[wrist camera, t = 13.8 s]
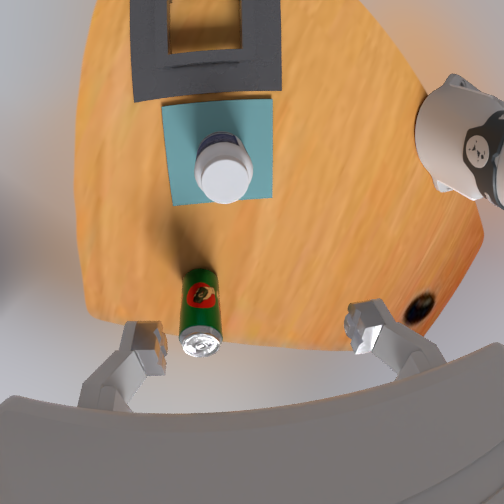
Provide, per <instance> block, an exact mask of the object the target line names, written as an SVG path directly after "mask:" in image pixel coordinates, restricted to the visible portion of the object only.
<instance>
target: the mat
mask: <svg viewBox="0 0 504 504" xmlns="http://www.w3.org/2000/svg"><path fill="white" fill-rule="evenodd" d="M162 116H163V127H164V137H165V147H166V155H167V164H168V172H169V180H170V187H171V194H172V201H173V206H178V205H188V204H198V203H209V202H214V201H212V200H211V199H209V198H208V197H207V196H206V195H205V193H204V192H203V191H202V190H201V189H200V187H199V186H198V184H197V182H196V179H195V175H194V168H195V162H196V156H197V150H198V147H199V145H200V143H201V141H202V140H203V139H204V138H205V137H206V136H208V135H209V134H211V133H214V132H218V131H225V132H229V133H232V134H234V135H235V136H237V137H238V138H239V139H240V140H241V142H242V143H243V145H244V147H245V149H246V151H247V153H248V155H249V156H250V158H251V161H252V165H253V176H252V179H251V182H250V184H249V186H248V189H247V191H246V193H245V194H244V195H243V196H242V197H241V198H240V199H239V200H247V199H261V198H272V162H273V101H272V99H243V100H223V101H209V102H197V103H187V104H178V105H170V106H163V107H162Z"/></svg>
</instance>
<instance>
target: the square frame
mask: <svg viewBox="0 0 504 504" xmlns="http://www.w3.org/2000/svg"><path fill="white" fill-rule="evenodd" d="M170 3H172V0H130V41H131V65H132V81H133V94H134V103H135V102H141V101H147V100H153V99H160V98H167V97H174V96H183V95H192V94H203V93H216V92H233V91H282V66H281V11H280V0H239V6H240V49H225V50H208V51H196V52H186V53H178V54H171V51H170Z"/></svg>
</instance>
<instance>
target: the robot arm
mask: <svg viewBox="0 0 504 504" xmlns="http://www.w3.org/2000/svg"><path fill="white" fill-rule="evenodd" d="M415 142H416V148H417V152H418V155H419V158H420V160H421V162H422V164H423V165H424V167H425V168H426V169H427V170H428V172H429V173H430V174H431V176H432V179H433V182H434V186H435V188H436V189H437V190H438V191H440V192H447V191H451V190H455V191H457V192H458V193H460V194H462V195H464V196H465V197H467V198H469V199H471V200H474V201H475V200H476V199H481V198H483V197H485V198H486V199H488V200H489V201H490V202H491V203H492V204H494V205H495V206H497V207H500V208H501V209H503V210H504V102H503V101H501V100H499V99H498V98H497V97H495V96H492V95H489V94H486V93H483V92H481V91H480V90H478V89H477V88H475V87H474V86H473V85H472V84H470V83H469V82H468V81H466V80H465V79H463V78H462V77H461V76H459V75H456V74H450V75H449V77H448V78H447V79H446V81H445V83H444V84H443V85H442V86H441V87H439V88H438V89H436V90H434V91H433V92H432V93H431V94H429V95H428V97H427V98H426V99H425V101H424V102H423V104H422V106H421V108H420V110H419V113H418V116H417V121H416V128H415ZM348 311H349V313H348V314H347V315H346V316H345V320H344V328H345V332H346V335H347V336H348V337H349V338H351V339H352V341H351V343H350V344H351V346H352V348H353V351H354V353H355V355H357V354H362V353H367V352H372V353H373V354H374V355H375V356H376V357H378V358H379V359H380V360H381V361H382V362H384V363H385V364H386V365H387V366H389V367H390V368H391V369H392V370H393V371H394V372H396V373H397V374H398V376H397V377H396V379H395V381H393V382H390V383H387V384H383V385H380V386H376V387H373V388H369V389H365V390H361V391H357V392H353V393H349V394H344V395H340V396H335V397H330V398H325V399H321V400H315V401H310V402H304V403H298V404H292V405H285V406H278V407H271V408H263V409H254V410H244V411H233V412H216V413H191V414H155V413H133V412H132V410H131V409H130V408H129V406H128V405H127V404H128V402H129V401H130V400H131V398H132V397H133V396H134V394H135V393H136V391H137V390H138V388H139V387H140V385H141V384H142V383H143V382H144V380H145V379H146V378H147V376H161V375H165V373H166V360H165V358H164V357H165V356H166V355H167V350H168V347H167V339H166V335H165V333H163V332H162V330H163V326H162V323H161V321H127V322H126V324H125V326H124V330H123V335H122V339H121V343H120V348H119V350H117V351H115V352H114V353H113V354H112V355H111V356H110V357H109V358H108V359H107V360H106V361H105V362H104V363H103V364H102V365H101V366H100V367H99V368H98V369H97V370H96V371H95V372H94V373H93V374H92V375H91V376H90V377H89V378H88V379H87V380H86V381H85V382H84V383H83V385H82V389H81V393H80V397H79V402H78V406H77V407H73V406H66V405H61V404H55V403H49V402H44V401H39V400H34V399H29V398H25V397H21V396H16V395H13V396H10V397H9V398H7V399H6V400H5V401H4V402H2V403H1V404H0V504H504V345H502V344H500V343H498V342H496V343H492V344H490V345H487V346H485V347H483V348H481V349H479V350H477V351H474V352H472V353H470V354H468V355H465V356H463V357H460V358H458V359H456V360H453V361H451V362H448V363H447V362H446V361H445V359H444V357H443V355H442V354H441V352H440V351H439V349H438V347H437V345H436V344H434V343H432V342H431V341H429V340H428V339H426V338H424V337H423V336H421V335H419V334H418V333H416V332H414V331H413V330H411V329H409V328H408V327H406V326H404V325H403V324H401V323H399V322H395V320H394V318H393V317H392V315H391V314H390V312H389V310H388V309H387V307H386V306H385V304H384V302H383V301H382V299H380V298H378V299H372V300H366V301H360V302H354V303H350V304H349V306H348Z"/></svg>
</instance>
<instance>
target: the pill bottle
mask: <svg viewBox="0 0 504 504" xmlns="http://www.w3.org/2000/svg"><path fill="white" fill-rule="evenodd" d="M194 175H195V179H196V182H197V184H198V186H199V187H200V189H201V190H202V191H203V192H204V193H205V195H206V196H207V197H208V198H209V199H211V200H212V201H214V202H217V203H221V204H228V203H232V202H235V201H237V200H239V199H240V198H241V197H242V196H243V195H244V194H245V193H246V191H247V189H248V186H249V184H250V182H251V179H252V176H253V165H252V161H251V158H250V156H249V155H248V153H247V151H246V149H245V147H244V145H243V143H242V142H241V140H240V139H239V138H238V137H237V136H235V135H234V134H232V133H229V132H225V131H218V132H214V133H211V134H209V135H208V136H206V137H205V138H204V139H203V140H202V141H201V143H200V145H199V147H198V150H197V156H196V162H195V168H194Z"/></svg>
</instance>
